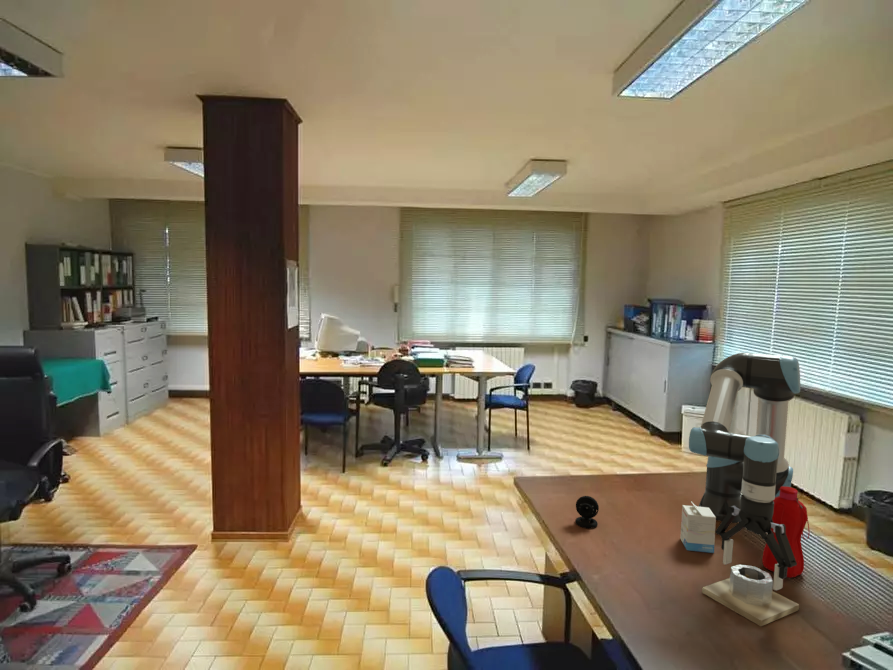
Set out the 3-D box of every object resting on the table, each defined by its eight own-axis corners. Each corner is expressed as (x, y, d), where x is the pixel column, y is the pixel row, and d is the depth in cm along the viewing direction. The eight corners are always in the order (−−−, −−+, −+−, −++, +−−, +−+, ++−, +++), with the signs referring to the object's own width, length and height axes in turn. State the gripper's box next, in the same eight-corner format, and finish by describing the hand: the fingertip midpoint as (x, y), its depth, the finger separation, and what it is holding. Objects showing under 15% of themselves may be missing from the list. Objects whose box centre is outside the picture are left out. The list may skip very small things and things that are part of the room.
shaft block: (739, 579, 149) (741, 552, 149) (798, 610, 135) (801, 580, 134) (702, 592, 142) (704, 564, 141) (760, 626, 128) (763, 594, 127)
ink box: (714, 553, 164) (717, 512, 163) (685, 550, 166) (688, 509, 165) (706, 541, 173) (709, 501, 172) (679, 538, 174) (682, 499, 173)
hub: (743, 583, 144) (745, 562, 144) (777, 600, 136) (779, 578, 136) (723, 590, 140) (724, 569, 140) (756, 609, 132) (757, 586, 132)
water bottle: (795, 584, 147) (803, 498, 146) (757, 566, 157) (763, 484, 155) (814, 577, 152) (821, 493, 150) (775, 560, 161) (782, 480, 160)
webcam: (573, 526, 181) (574, 498, 180) (576, 518, 188) (577, 490, 187) (596, 530, 178) (598, 502, 177) (598, 522, 185) (600, 494, 184)
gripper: (704, 483, 146) (699, 556, 148) (799, 519, 124) (792, 604, 126) (722, 479, 149) (717, 550, 151) (817, 513, 127) (810, 596, 129)
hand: (751, 575), depth 138 cm, fingers open, 13 cm apart
